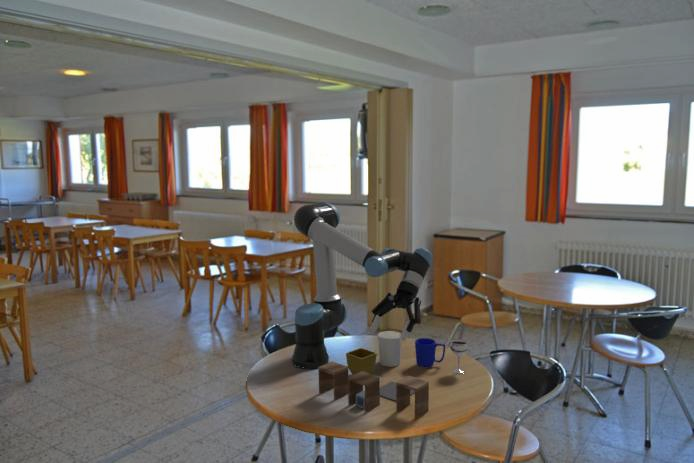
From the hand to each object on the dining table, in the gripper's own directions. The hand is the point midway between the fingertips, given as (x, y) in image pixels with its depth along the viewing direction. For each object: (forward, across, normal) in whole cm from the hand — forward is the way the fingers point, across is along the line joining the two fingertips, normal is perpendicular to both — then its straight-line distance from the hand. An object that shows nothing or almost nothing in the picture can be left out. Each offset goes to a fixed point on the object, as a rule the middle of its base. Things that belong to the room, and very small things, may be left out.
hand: (386, 335), depth 190 cm
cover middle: (+24, 0, -5) cm, 25 cm away
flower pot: (+11, +17, -19) cm, 27 cm away
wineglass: (-8, -10, -38) cm, 40 cm away
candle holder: (-1, +16, -31) cm, 35 cm away
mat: (+14, -2, -16) cm, 21 cm away
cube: (+24, 0, -5) cm, 25 cm away
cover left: (+24, +14, -5) cm, 28 cm away
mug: (-6, +2, -36) cm, 37 cm away
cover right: (+20, -15, -10) cm, 27 cm away
